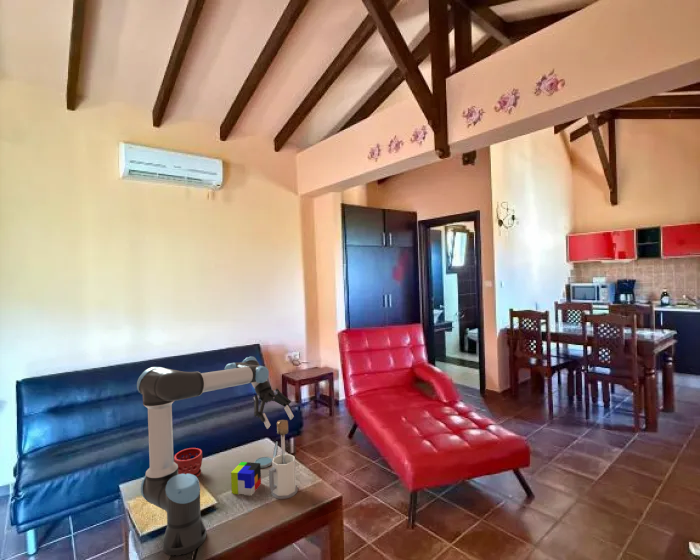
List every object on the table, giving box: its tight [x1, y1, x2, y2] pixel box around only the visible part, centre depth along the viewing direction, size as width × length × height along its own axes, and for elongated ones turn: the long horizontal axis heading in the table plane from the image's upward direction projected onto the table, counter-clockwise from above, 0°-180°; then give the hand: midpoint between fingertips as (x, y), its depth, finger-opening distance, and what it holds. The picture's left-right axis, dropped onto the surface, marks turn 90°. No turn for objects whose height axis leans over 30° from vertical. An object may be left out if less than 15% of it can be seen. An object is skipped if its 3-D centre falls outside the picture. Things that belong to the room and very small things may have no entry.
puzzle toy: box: [230, 461, 262, 496], centre depth 178 cm, size 10×10×10 cm
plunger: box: [276, 419, 289, 464], centre depth 174 cm, size 8×8×22 cm
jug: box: [268, 453, 299, 500], centre depth 174 cm, size 14×12×15 cm
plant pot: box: [173, 447, 203, 478], centre depth 190 cm, size 13×13×12 cm
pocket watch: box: [253, 441, 279, 469], centre depth 201 cm, size 10×11×15 cm
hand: (280, 422), depth 177 cm, fingers open, 13 cm apart
